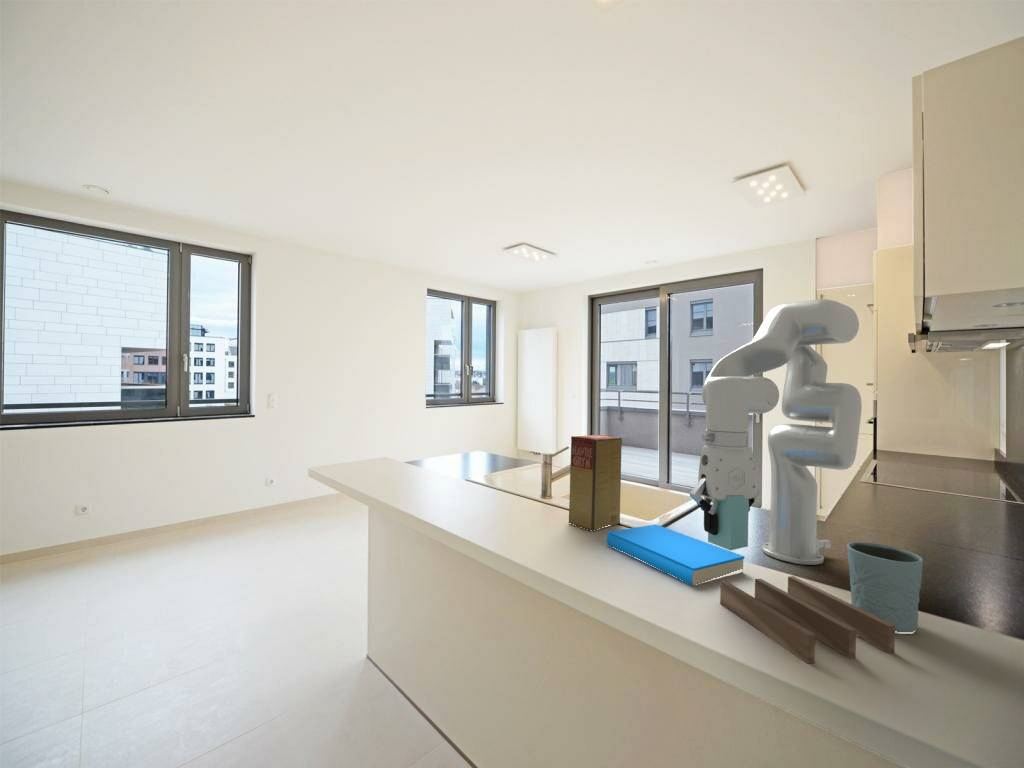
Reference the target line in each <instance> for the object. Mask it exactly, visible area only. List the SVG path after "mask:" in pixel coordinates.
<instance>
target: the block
mask: <svg viewBox="0 0 1024 768" xmlns="http://www.w3.org/2000/svg"><path fill="white" fill-rule="evenodd" d="M711 501H712V500H711V499H710V504H711ZM710 504H709V505H710ZM749 512H750V511H749V499H745V498H744V495H738V496H727V500H726V501H719V503H718V506H717V509H716V512H715V514H717V515H718V534H717V535H712V534H710V533H708V532H707V543H709V544H712V545H714V546H717V547H720V548H723V549H725V550H728V551H731V552H732V551H735V550H739V549H743V548H747V547H748V546H749V515H750V513H749Z"/></svg>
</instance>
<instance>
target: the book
mask: <svg viewBox="0 0 1024 768" xmlns="http://www.w3.org/2000/svg"><path fill="white" fill-rule="evenodd" d="M607 533H608V534H607V537H606V545H607V546H608V545H609V546H611V547H614V548H616V549H618V550H620V551H623V552H625V553H627V554H629V555H631V556H633V557H636V558H638V559H640V560H642V561H644V562H646V563H648V564H650V565H652V566H654V567H656V568H658V569H660V570H662V571H664V572H666V573H669V574H671V575H673V576H675V577H677V578H678V579H677V578H676V579H677V580H679V579H681V580H683V581H684V582H683V581H682V582H683V583H685V582H686V583H685V584H687V583H688V584H687V585H689V584H690V586H691V585H692V587H694V586H693V585H695V586H697V585H696V584H699V583H702V582H705V581H708V580H711V579H713V578H717V577H720V576H723V575H726V574H729V573H731V572H734V571H737V570H740V569H743V570H744V559H745V556H744V555H741V554H739V553H736V552H734V551H732V550H731V551H730V550H728V549H725V548H723V547H720V546H718V545H715V544H712V543H710V542H705V541H703V540H700V539H698V538H694V537H693V536H690V535H686V534H683V533H680V532H678V531H675V530H672V529H670V528H667V527H664V526H661V525H658V524H650V525H642V526H636V527H630V528H625V529H618V530H612V531H611V530H610V531H608V532H607ZM609 546H608V547H609ZM611 547H610V548H611ZM618 550H617V551H618ZM620 551H619V552H620ZM656 568H655V569H656ZM658 569H657V570H658ZM660 570H659V571H660ZM662 571H661V572H662ZM664 572H663V573H664ZM666 573H665V574H666ZM681 580H680V581H681ZM699 585H700V584H699Z"/></svg>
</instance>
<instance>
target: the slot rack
mask: <svg viewBox="0 0 1024 768" xmlns="http://www.w3.org/2000/svg"><path fill="white" fill-rule="evenodd" d="M719 595H720V597H719V604H720V605H722V606H723V608H726V609H727V610H729V611H730V612H731V613H734V615H736V616H738V617H739V618H741V619H742V620H744V622H746V623H748V625H751V626H752V627H754V628H755V629H757V630H758V631H760V632H761V633H763V634H764V635H765V636H766V637H768V638H770V639H771V640H772V641H774V642H776V643H777V644H778V645H780V646H781V647H783V648H784V649H786V650H787V651H789V652H790V653H791V654H793V655H794V656H796V657H798V658H799V659H800V660H801V661H803V662H804V663H806V664H814V663H815V661H816V659H815V655H816V654H815V653H816V652H815V651H816V639H817V641H820V642H822V643H823V644H825V645H826V646H828V647H830V648H831V649H833V650H835V651H837V653H839V654H841V655H843V656H845V657H846V658H848V659H854V658H856V652H857V651H856V649H857V647H856V645H857V637H858V636H859V637H858V638H860V637H861V638H862V639H861V638H860V639H861V640H863V639H864V641H865V642H867V641H868V642H867V643H869V644H871V645H872V646H874V647H876V648H878V649H880V650H881V649H882V650H881V651H882V652H883V651H884V652H885V653H887V654H893V653H892V652H894V653H895V641H896V640H895V638H896V636H895V635H896V634H895V625H893V624H891V623H889V622H887V621H885V620H882V619H880V618H878V617H876V616H874V615H872V614H870V613H868V612H866V611H864V610H862V609H860V608H858V607H856V606H854V605H852V604H851V603H850V602H847V601H845V600H843V599H842V598H839V597H837V596H835V595H833V594H832V593H828V592H827V591H825V590H823V589H822V588H821V589H820V588H818V587H817V586H814V585H812V584H811V583H808V582H806V581H804V580H802V579H801V578H798V577H796V576H795V575H794V576H793V575H792V576H789V575H788V576H787V591H784V589H781V588H779V587H777V586H775V585H773V584H772V583H770V582H768V581H766V580H764V579H763V578H754V596H752V595H751V594H749V593H748V592H746V591H744V590H742V589H741V588H739V587H737V586H735V585H734V584H732V583H731V582H730V581H727V580H722V581H720V594H719ZM856 635H858V636H856Z"/></svg>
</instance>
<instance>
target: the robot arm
mask: <svg viewBox="0 0 1024 768" xmlns="http://www.w3.org/2000/svg"><path fill="white" fill-rule="evenodd" d="M859 327H860V323H859V318H858V314H857V313H856V311H855V310H854V309H853V308H851V307H850V306H848V305H845V304H844V303H841V302H838V301H835V300H832V299H825V298H823V299H813V300H804V301H797V302H787V303H783V304H779V305H777V306H775V307H773V308H771V309H770V310H769V312H768V313H767V315H766V316H765V318H764V320H763V321H762V322H761V324H760V326H759V329H758V330H757V332H756V333H755V335H754V337H753V338H752V340H751V341H750V342H747V343H746V344H744V345H742V346H740V347H739V348H737V349H736V350H733V351H732V352H730V353H728V354H727V355H725V356H724V357H722V358H721V359H720V360H718V361H717V363H715V365H714V366H713V368H711V371H710V372H709V374H708V376H706V379H705V381H704V383H703V385H702V391H701V398H702V399H701V400H702V401H703V403H704V405H705V408H706V409H705V433H703V434H701V437H700V439H701V440H702V441H703V442H705V445H703V446H702V449H701V453H700V458H699V459H700V460H699V464H698V465H699V466H698V481H697V482H698V483H697V484H696V485H695V487H694V488H693V489H692V490H691V491H690V493H689V496H690V497H691V499H692V500H693V501H694V502H695V503H696V504H697V506H698V507H700V510H701V511H703V531H704V532H706V533H707V534H708V533H710V534H712V535H717V534H718V515H717V514H715V512H716V509H717V506H718V503H719V501H726V500H727V496H738V495H744V498H745V499H749V512H750V510H751V507H752V505H753V504H755V500H756V499H758V498H759V496H760V495H761V490H760V488H758V486H757V475H756V463H755V462H756V461H755V456H754V452H753V450H752V447H750V446H749V416H750V415H749V414H765V413H769V412H770V411H772V410H773V409H775V408H776V406H777V404H778V402H779V400H780V391H779V388H778V385H777V383H775V382H774V381H773V380H772V379H770V378H767V377H765V376H755V375H759V374H762V373H766V372H769V371H772V370H775V369H778V368H780V367H783V366H785V365H786V373H785V380H784V384H783V389H782V391H783V392H782V397H781V412H782V414H783V416H785V417H786V418H788V419H790V420H792V421H793V420H794V421H800V422H811V423H826V424H827V423H828V424H832V425H831V426H820V425H817V426H816V425H811V424H796V423H795V424H794V423H785V424H783V423H782V424H779V425H776V426H774V427H772V429H771V430H770V431H769V432H768V435H767V436H768V437H767V447H768V454H769V460H770V475H771V476H770V477H771V479H770V505H769V506H770V510H769V511H770V514H769V541H767V542H765V543H762V545H761V550H762V552H763V553H764V554H766V555H768V557H769V556H770V557H772V558H774V559H777V560H779V561H784V562H787V563H792V564H798V565H804V566H817V565H821V564H823V563H824V560H825V559H824V555H823V554H822V553H820V550H821V549H830V548H832V543H831V541H830V540H828V539H819V538H817V525H818V524H817V523H818V521H817V517H818V491H819V489H818V484H817V481H816V479H815V476H814V475H813V474H812V473H811V471H810V469H808V467H814V468H821V469H828V470H839V471H845V470H848V469H850V468H851V467H852V466H853V465H854V464H855V461H856V460H855V459H856V456H857V450H858V441H859V435H860V427H861V417H862V408H863V406H862V397H861V394H860V391H859V390H858V388H857V387H855V386H854V385H853V384H849V383H844V382H827V375H828V364H827V362H826V360H825V359H824V358H823V357H822V356H821V355H820V353H819V352H817V351H816V350H815V349H814V348H813V347H812V346H813V345H815V346H816V345H833V344H837V345H838V344H845V343H846V344H847V343H850V342H851V341H853V340H854V339H855V337H856V336H857V335H858V332H859ZM702 496H703V497H702ZM710 499H711V500H712V501H711V504H710ZM709 504H710V505H709Z"/></svg>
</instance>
